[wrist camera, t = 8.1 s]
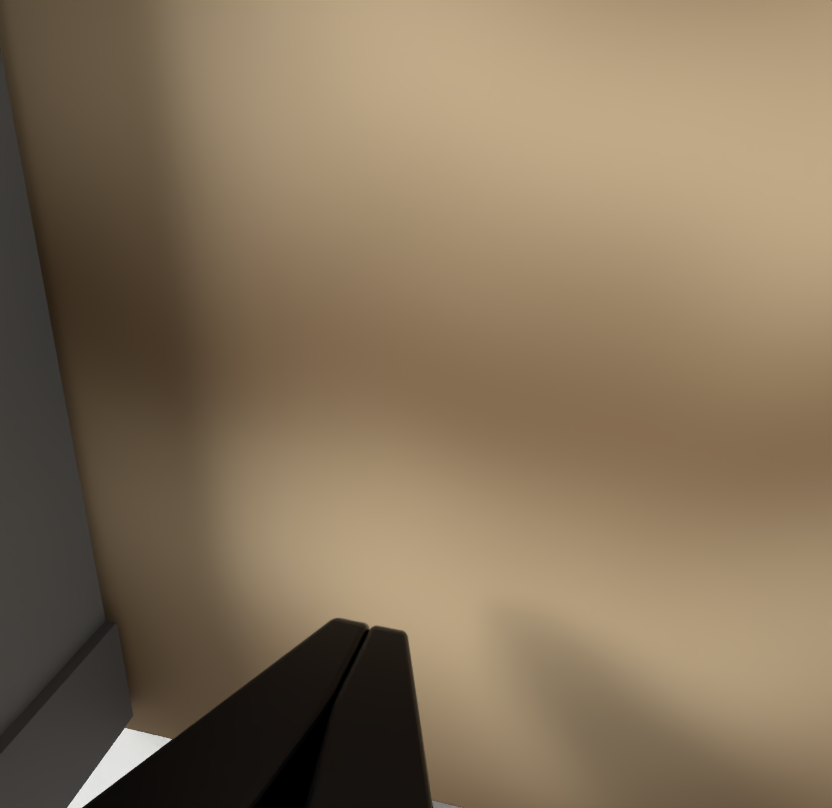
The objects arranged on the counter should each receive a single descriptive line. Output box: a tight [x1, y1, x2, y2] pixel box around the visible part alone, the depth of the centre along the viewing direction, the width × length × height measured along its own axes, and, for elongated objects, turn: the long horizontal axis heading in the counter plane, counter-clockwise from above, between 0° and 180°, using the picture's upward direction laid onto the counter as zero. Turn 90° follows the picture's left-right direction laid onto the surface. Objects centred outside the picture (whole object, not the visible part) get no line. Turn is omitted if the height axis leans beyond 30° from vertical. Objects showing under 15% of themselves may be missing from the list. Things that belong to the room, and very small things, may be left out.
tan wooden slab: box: [0, 0, 832, 808], centre depth 9 cm, size 16×18×5 cm
